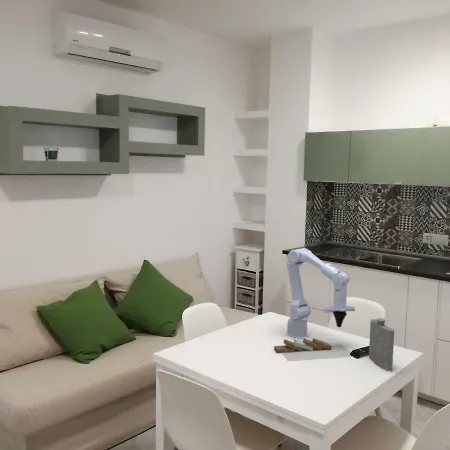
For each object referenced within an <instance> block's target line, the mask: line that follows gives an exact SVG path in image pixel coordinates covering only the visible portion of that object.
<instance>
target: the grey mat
mask: <svg viewBox="0 0 450 450" xmlns="http://www.w3.org/2000/svg"><path fill="white" fill-rule="evenodd" d="M330 345H331V346H332V349H331V350H329V349H326V348H322V350H318V349H315V348H313V350H312V351H311V350H308V349H304V348H303V350H302V352H301V351H299V350H296V349H294V352H291V353H281V354H282V356H283V357H284V358H285V359H286V361H287V362H296V361H298V362H299V361H310V360H313V361H315V360H326V359H339V358H341V359H342V358H343V359H344V358H353V356H351V355H350V353H351V351H350V350H349V349H348V348H347V347H345V346H344V345H343V343H335V344H330Z"/></svg>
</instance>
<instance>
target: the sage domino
mask: <svg viewBox="0 0 450 450" xmlns="http://www.w3.org/2000/svg"><path fill="white" fill-rule="evenodd" d="M293 339H294V340H293V342H294V343H295V345H296V346H298V347H301V348H304V349H308V350H311V351H312V350H313V348H312V347H310V346H307V345H305V344H304V342H303V340H302V341H301V340H300V339H297V338H293Z"/></svg>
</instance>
